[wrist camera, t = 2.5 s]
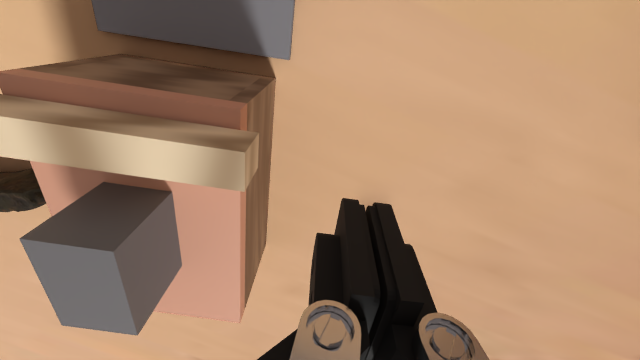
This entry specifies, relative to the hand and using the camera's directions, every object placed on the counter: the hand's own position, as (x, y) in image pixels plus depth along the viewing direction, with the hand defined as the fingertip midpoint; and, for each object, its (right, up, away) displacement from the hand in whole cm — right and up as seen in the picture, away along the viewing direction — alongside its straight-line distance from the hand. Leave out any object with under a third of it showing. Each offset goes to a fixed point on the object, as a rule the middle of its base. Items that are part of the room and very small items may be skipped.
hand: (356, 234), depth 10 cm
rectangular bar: (-11, +4, +5) cm, 13 cm away
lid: (-12, 0, +10) cm, 16 cm away
